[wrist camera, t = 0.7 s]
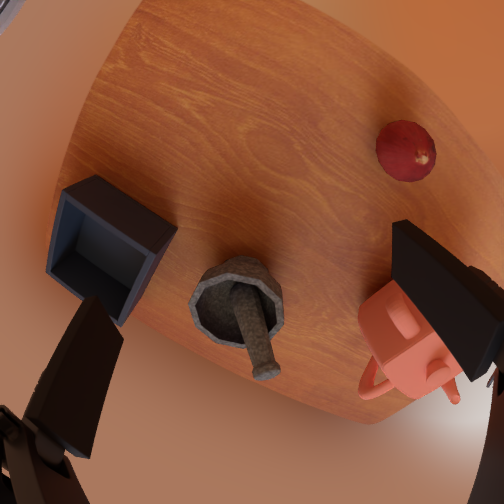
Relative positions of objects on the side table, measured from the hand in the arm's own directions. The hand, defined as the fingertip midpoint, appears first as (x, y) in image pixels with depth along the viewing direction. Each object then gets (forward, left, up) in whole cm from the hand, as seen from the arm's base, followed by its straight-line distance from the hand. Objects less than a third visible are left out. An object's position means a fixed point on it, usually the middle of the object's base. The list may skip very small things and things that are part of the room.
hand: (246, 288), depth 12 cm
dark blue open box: (+5, -20, -19) cm, 28 cm away
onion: (-3, +13, -20) cm, 24 cm away
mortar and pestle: (+12, -4, -20) cm, 23 cm away
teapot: (+18, +17, -20) cm, 32 cm away
